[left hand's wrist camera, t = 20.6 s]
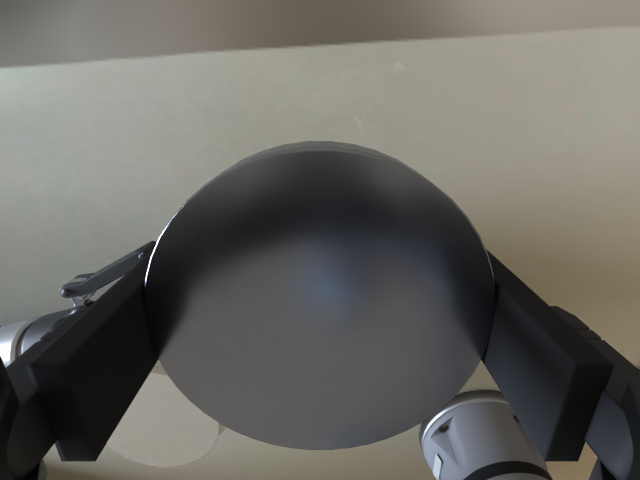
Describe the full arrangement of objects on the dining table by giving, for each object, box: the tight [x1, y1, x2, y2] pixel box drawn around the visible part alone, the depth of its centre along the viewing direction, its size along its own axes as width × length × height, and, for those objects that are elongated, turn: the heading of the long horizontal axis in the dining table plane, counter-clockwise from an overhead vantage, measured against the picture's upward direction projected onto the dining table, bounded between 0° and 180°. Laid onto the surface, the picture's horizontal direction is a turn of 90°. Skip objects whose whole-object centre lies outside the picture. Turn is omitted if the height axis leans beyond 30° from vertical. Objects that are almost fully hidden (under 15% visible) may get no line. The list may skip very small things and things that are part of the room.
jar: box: [106, 360, 226, 467], centre depth 32 cm, size 9×9×19 cm
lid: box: [144, 141, 496, 450], centre depth 11 cm, size 10×10×2 cm
